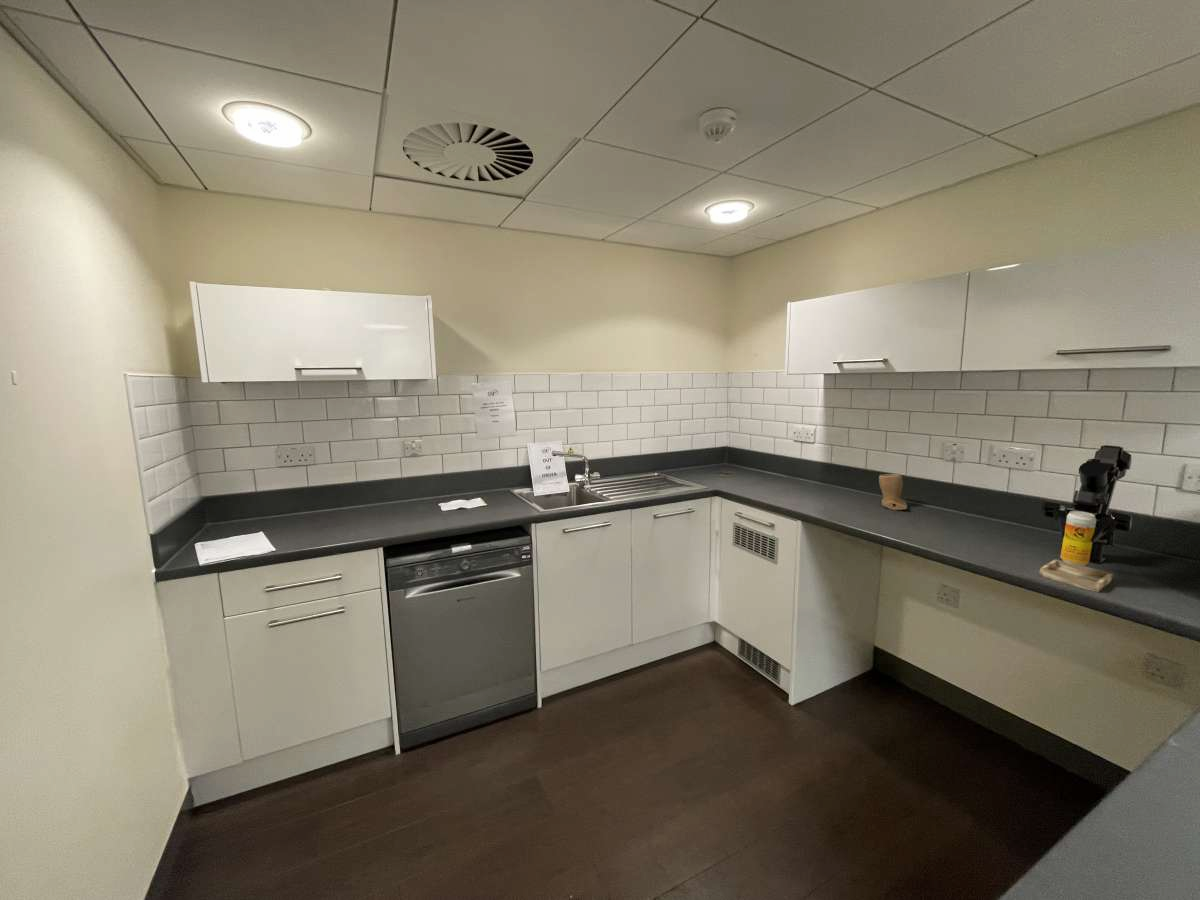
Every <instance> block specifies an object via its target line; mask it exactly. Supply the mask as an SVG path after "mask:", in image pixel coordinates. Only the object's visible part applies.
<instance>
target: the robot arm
mask: <svg viewBox="0 0 1200 900" xmlns="http://www.w3.org/2000/svg"><path fill="white" fill-rule="evenodd" d="M1131 465H1132V454H1130V453H1129V452H1127V451H1125V450H1124V447H1122V446H1120V445H1109V444H1107V445H1106V444H1104V445H1100V449H1098V450H1095V454H1094V457H1093V458H1089V459H1087V460H1086V461H1085V462H1084V463H1082V464H1081V465H1079V468H1078V474H1079V482H1080V487H1079V490H1075V491H1074V495H1073V498H1072V505H1071V506H1072V507H1073V508H1070V507H1069V508H1068V507H1066V506H1064V505H1062V502H1058V501H1053V500H1052V501H1051V500H1046V501H1043V503H1042V504H1041V509H1042V510H1041V511H1042V516H1044V517H1045V518H1049V519H1050V518H1051V519H1053V520H1054V521H1056V522H1058V525H1059V527H1060V533H1061V537H1063V538H1064V532H1065V526H1066V520H1067V515H1068V514H1069V513H1070V511H1080V512H1086V513H1091V514H1093V515H1095V518H1096V525H1095V531H1094V535H1093V538H1092V548H1091V553H1090V559H1089V563H1090V562H1091V563H1094V564H1095V563H1096V564H1102V563H1103V562H1105V560H1106V558H1105V557H1103V553H1104V546H1107V547H1110V546H1114V543H1115V534H1116V533H1115V532H1116V531H1122V532H1130V531H1131V528H1132V523H1133V516H1132V514H1130V513H1126V512H1120V511H1115V510H1112V511H1111V512H1110V513H1111V514H1110V515H1108V512H1109V509H1110V505H1111V501H1112V497H1113V494H1114V491H1115V488H1116V484H1117V481H1118V480H1120V479H1121V478H1124V477H1125V476H1126V473H1127V471H1128V470H1130V469H1131Z"/></svg>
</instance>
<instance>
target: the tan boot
mask: <svg viewBox="0 0 1200 900" xmlns="http://www.w3.org/2000/svg"><path fill="white" fill-rule="evenodd" d="M903 482H904V480H903V476H902V474H898V473H892V474H890V473H889V474H886V473H885V474H880V475H879V476H878V483H879V487H880V490H881V493H882V499H881V505H882V506H883V507H885V508H888V509H890V510H893V511H901V510H906V509H908V504H907V501H905V500H904V499H903V500H902V499H901V495H902V491H903V487H904V486H903Z"/></svg>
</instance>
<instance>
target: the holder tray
mask: <svg viewBox="0 0 1200 900" xmlns="http://www.w3.org/2000/svg"><path fill="white" fill-rule="evenodd" d="M1038 576H1039V577H1041V576H1042V577H1041V578H1045V579H1048V578H1049V579H1048V580H1051V581H1052V580H1053V581H1056V582H1060V583H1064V584H1067V585H1071V586H1075V587H1078V588H1081V589H1085V590H1088V591H1092V592H1095V591H1096V592H1095V593H1099V592H1100V591H1102V590H1103V589H1104V588H1105V587H1107V586H1108V585H1109V584H1111V583H1112V582H1113V581H1112V580H1113V576H1114V573H1111V572H1108V571H1104V570H1101V569H1096V568H1092V567H1087V566H1085V565H1084V566H1080V565H1073V564H1069V563H1066V562H1064V561H1063V560H1060V559H1053V560H1051V561H1050V562H1048V563H1046V564H1044V565H1042V566H1041V567H1040V568H1039V573H1038Z"/></svg>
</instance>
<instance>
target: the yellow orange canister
mask: <svg viewBox="0 0 1200 900" xmlns="http://www.w3.org/2000/svg"><path fill="white" fill-rule="evenodd" d="M1095 525H1096V518H1095V515H1093V514H1091V513H1086V512H1080V511H1070V513H1069V514H1068V515H1067V520H1066V526H1065V532H1064V537H1063V539H1062V547H1061V549H1060V550H1061V551H1060V552H1061V553H1060V559H1062V560H1061V561H1064V562H1066V563H1069V564H1073V565H1080V566H1084V567H1085V566H1086V565H1087V564H1089V563H1090V561H1089V559H1090V553H1091V548H1092V538H1093V535H1094V531H1095Z"/></svg>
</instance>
